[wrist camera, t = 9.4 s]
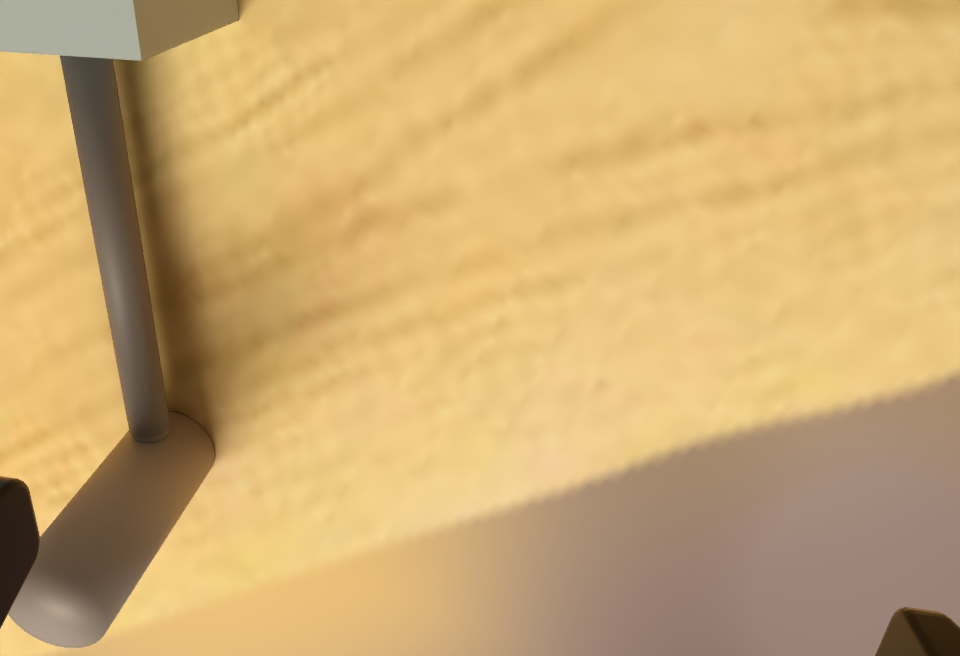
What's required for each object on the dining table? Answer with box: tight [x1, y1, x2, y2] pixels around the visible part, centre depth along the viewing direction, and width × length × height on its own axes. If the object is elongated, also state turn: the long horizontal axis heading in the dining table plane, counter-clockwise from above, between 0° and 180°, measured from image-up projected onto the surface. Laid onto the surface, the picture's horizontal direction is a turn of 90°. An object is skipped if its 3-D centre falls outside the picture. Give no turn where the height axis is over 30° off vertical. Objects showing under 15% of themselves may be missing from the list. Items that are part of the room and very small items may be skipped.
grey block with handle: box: [0, 0, 239, 648], centre depth 17 cm, size 6×20×6 cm, turn 178°
